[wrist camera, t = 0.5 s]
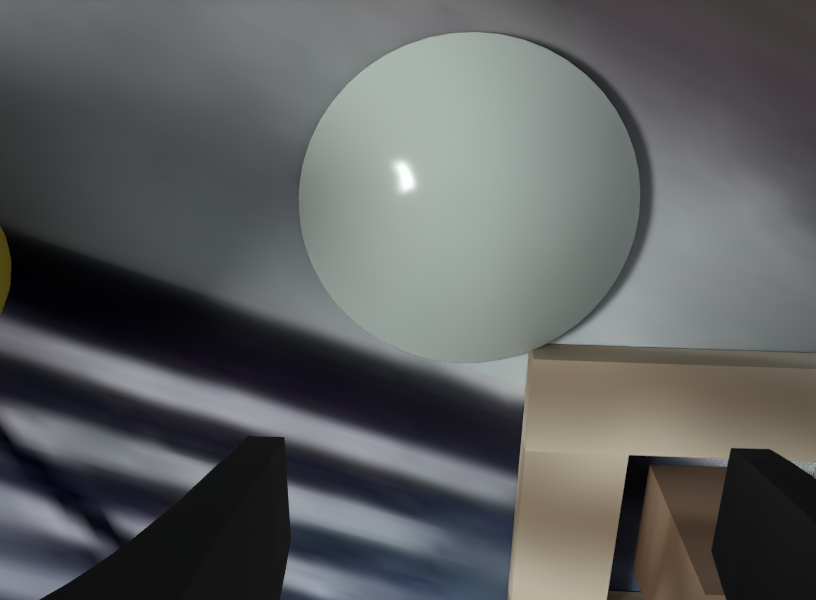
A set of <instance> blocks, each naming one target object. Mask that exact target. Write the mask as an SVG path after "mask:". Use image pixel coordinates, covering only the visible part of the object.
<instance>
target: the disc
mask: <svg viewBox="0 0 816 600" xmlns="http://www.w3.org/2000/svg"><path fill="white" fill-rule="evenodd" d="M639 208H640V181H639V171H638V166H637V161H636V156H635V151H634V149H633V146H632V143H631V140H630V138H629V135H628V132H627V129H626V128H625V126H624V124H623V122H622V120H621V118H620V116H619V114H618V113H617V111H616V109H615V108H614V106H613V105H612V104H611V102H610V101H609V100H608V98H607V97H606V95H605V94H604V93H603V91H602V90H601V89H600V88H599V87H598V86H597V85H596V84H595V83H594V82H593V81H592V80H591V79H590V78H589V77H588V76H587V75H586V74H585V73H583V72H582V71H581V70H579V69H578V68H577V67H575V66H574V65H573V64H572V63H570V62H569V61H568V60H566V59H565V58H563V57H561V56H559V55H557V54H556V53H554V52H552V51H550V50H549V49H547V48H545V47H543V46H540V45H537V44H535V43H532V42H530V41H527V40H525V39H521V38H517V37H513V36H509V35H504V34H500V33H490V32H479V31H471V32H451V33H446V34H441V35H435V36H430V37H426V38H423V39H420V40H417V41H414V42H411V43H408V44H406V45H404V46H401V47H399V48H397V49H395V50H393V51H391V52H389V53H387V54H385V55H384V56H382V57H381V58H379V59H378V60H376V61H375V62H373V63H372V64H370V65H369V66H367V67H366V68H365V69H363V70H362V71H361V72H360V73H359V74H358V75H357V76H356V77H354V78H353V79H352V80H351V81H350V82H349V83H348V84H347V85H346V86H345V87H344V89H343V90H342V91H341V92H340V93H339V94H338V96H337V97H336V98H335V99H334V100H333V101H332V103H331V104H330V106H329V107H328V109H327V110H326V112H325V113H324V115H323V117H322V118H321V120H320V121H319V123H318V125H317V127H316V129H315V132H314V134H313V136H312V138H311V140H310V142H309V146H308V149H307V152H306V155H305V158H304V162H303V166H302V172H301V178H300V184H299V215H300V225H301V231H302V235H303V239H304V243H305V247H306V250H307V253H308V256H309V258H310V261H311V263H312V266H313V268H314V270H315V272H316V274H317V276H318V277H319V279H320V281H321V283H322V285H323V286H324V288H325V289H326V291H327V292H328V293H329V295H330V296H331V297H332V299H333V300H334V302H335V303H336V304H337V305H338V306H339V307H340V308H341V309H342V310H343V311H344V312H345V314H346V315H347V316H348V317H349V318H350V319H352V320H353V321H354V322H355V323H356V324H358V325H359V326H360V327H361V328H363V329H364V330H365V331H367V332H368V333H370V334H371V335H373V336H374V337H376V338H377V339H379V340H381V341H382V342H384V343H386V344H388V345H391V346H393V347H395V348H397V349H399V350H401V351H404V352H407V353H410V354H413V355H416V356H419V357H423V358H428V359H432V360H437V361H444V362H455V363H480V362H488V361H495V360H502V359H505V358H509V357H513V356H517V355H521V354H523V353H526V352H528V351H531V350H534V349H536V348H539V347H541V346H543V345H545V344H547V343H549V342H550V341H552V340H554V339H556V338H558V337H560V336H561V335H562V334H564V333H565V332H567V331H568V330H570V329H571V328H572V327H574V326H575V325H577V324H578V323H579V322H580V321H581V320H582V319H583V318H584V317H586V316H587V315H588V314H589V313H590V312H591V311H592V310H593V309H594V308H595V307H596V306H597V304H598V303H599V302H600V301H601V300H602V299H603V298H604V296H605V295H606V294H607V292H608V291H609V290H610V288H611V287H612V285H613V284H614V282H615V281H616V279H617V278H618V276H619V274H620V272H621V270H622V268H623V266H624V264H625V262H626V260H627V258H628V255H629V252H630V249H631V246H632V244H633V241H634V238H635V233H636V228H637V224H638V219H639Z"/></svg>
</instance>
